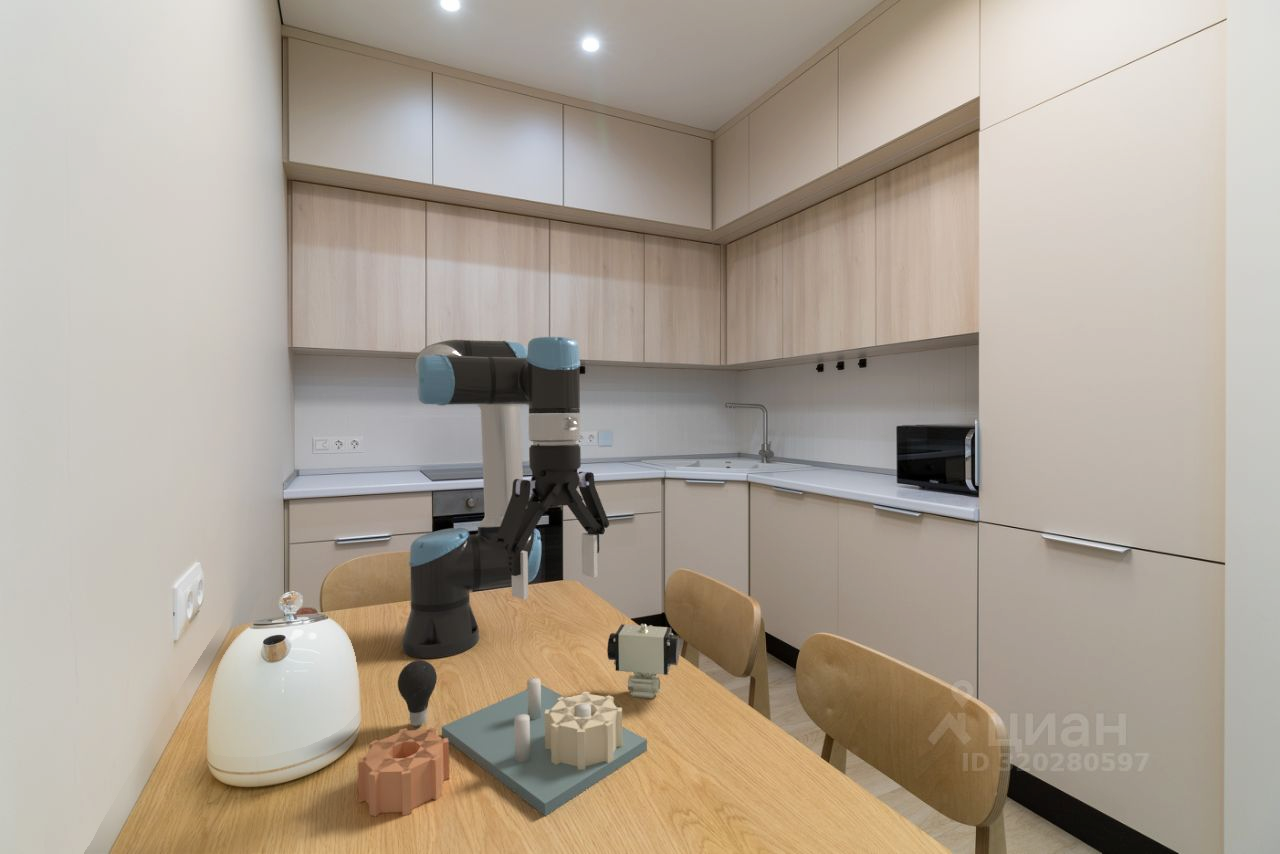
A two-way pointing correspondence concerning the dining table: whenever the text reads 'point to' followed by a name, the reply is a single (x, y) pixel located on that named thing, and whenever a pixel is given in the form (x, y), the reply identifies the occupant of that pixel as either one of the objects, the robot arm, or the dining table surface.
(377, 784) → the loose gear
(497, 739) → the gear board
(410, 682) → the light bulb
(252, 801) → the dining table surface
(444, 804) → the dining table surface
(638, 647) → the pneumatic valve
